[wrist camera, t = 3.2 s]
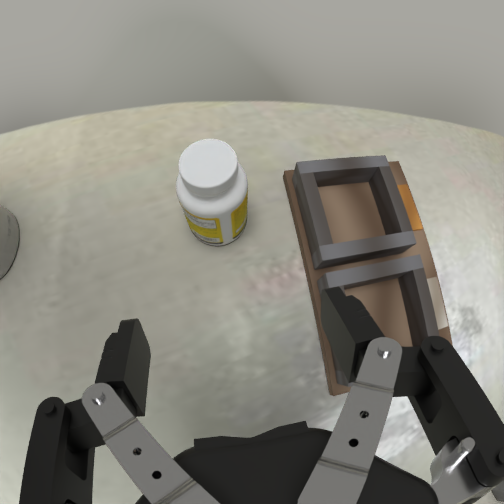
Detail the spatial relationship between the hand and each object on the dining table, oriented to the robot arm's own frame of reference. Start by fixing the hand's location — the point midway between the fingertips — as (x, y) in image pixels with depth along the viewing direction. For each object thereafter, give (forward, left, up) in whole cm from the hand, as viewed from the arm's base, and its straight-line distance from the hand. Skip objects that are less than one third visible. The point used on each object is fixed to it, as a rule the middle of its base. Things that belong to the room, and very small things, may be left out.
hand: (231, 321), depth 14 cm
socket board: (+13, +4, -14) cm, 20 cm away
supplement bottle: (0, +11, -14) cm, 18 cm away
